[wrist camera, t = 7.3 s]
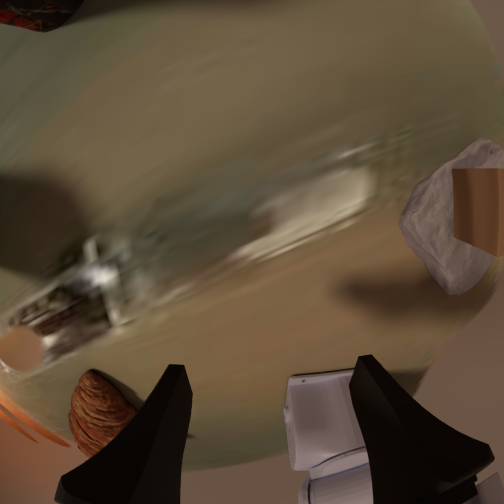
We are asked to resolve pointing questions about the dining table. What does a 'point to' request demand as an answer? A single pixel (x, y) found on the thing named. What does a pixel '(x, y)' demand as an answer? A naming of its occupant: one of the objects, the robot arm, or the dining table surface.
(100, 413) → the pastry
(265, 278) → the dining table surface
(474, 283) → the stone block
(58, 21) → the deodorant
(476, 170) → the walnut cube
